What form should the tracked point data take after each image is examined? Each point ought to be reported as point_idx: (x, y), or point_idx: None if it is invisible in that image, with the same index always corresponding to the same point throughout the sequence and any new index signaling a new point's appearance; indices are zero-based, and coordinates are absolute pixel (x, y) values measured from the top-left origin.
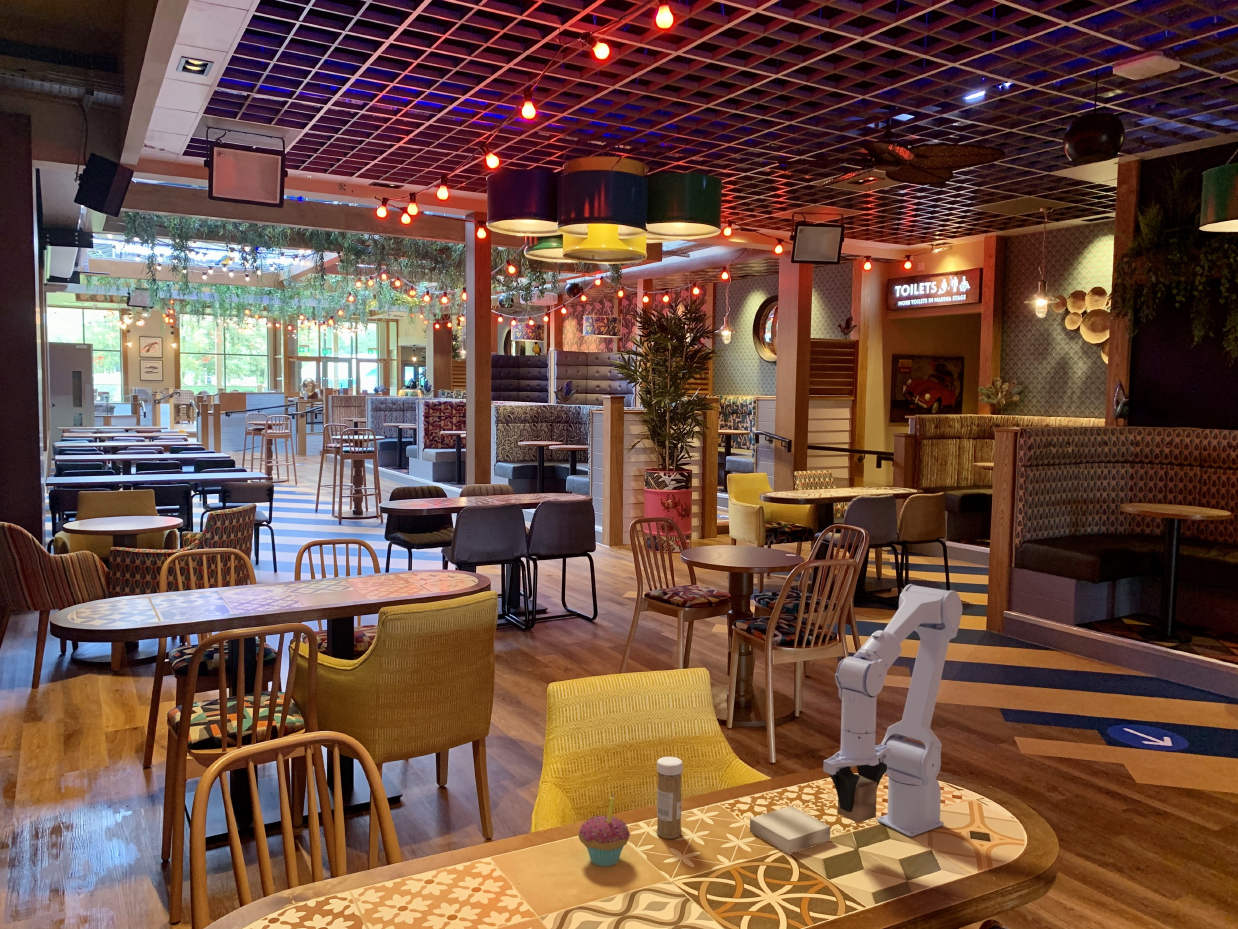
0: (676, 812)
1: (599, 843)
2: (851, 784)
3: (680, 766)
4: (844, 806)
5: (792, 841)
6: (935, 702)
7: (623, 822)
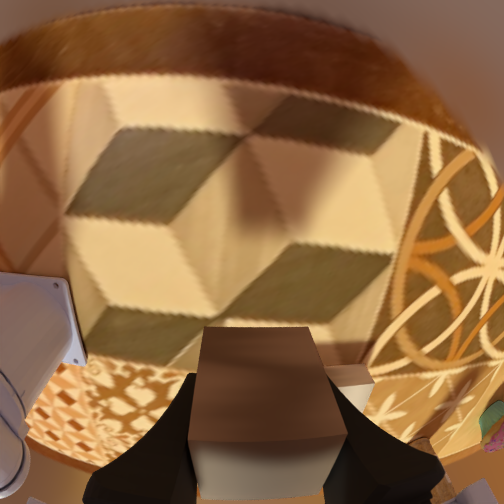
0: None
1: None
2: (403, 450)
3: None
4: None
5: (362, 380)
6: None
7: (494, 441)
